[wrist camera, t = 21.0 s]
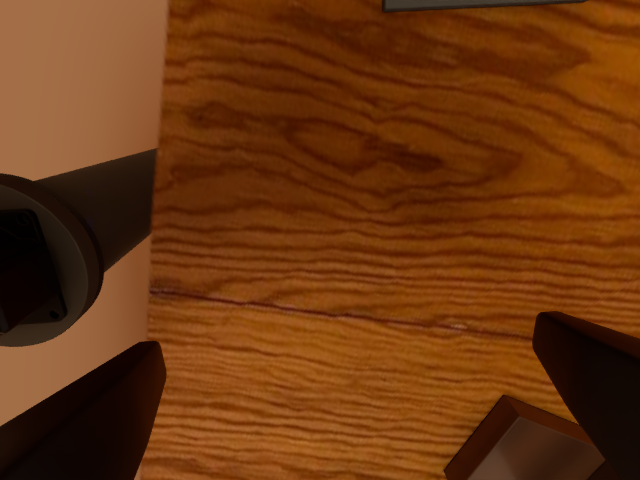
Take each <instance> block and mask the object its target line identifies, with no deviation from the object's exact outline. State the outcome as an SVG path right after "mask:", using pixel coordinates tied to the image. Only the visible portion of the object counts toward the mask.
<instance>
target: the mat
mask: <svg viewBox="0 0 640 480" xmlns="http://www.w3.org/2000/svg"><path fill="white" fill-rule="evenodd" d="M585 1H588V0H383V12H394V11H414V10H435V9H455V8H476V7H497V6H517V5H538V4H558V3H579V2H585Z"/></svg>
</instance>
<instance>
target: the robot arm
mask: <svg viewBox="0 0 640 480" xmlns="http://www.w3.org/2000/svg"><path fill="white" fill-rule="evenodd" d="M23 215H24V216H25V217H27V219H28V222H26V221H25V220H24V219H23ZM54 311H57V312H58V313H59V315H58V314H56V313H55V312H54ZM67 314H68V310H67V307H66V304H65V300H64V297H63V294H62V291H61V286H60V282H59V279H58V276H57V273H56V270H55V267H54V264H53V261H52V257H51V254H50V251H49V249H48V247H47V244H46V241H45V238H44V235H43V232H42V229H41V225H40V222H39V219H38V216H37V215H36V213H35V212H34V211H33V210H30V209H26V208H22V209H6V210H0V336H1V335H3V334H6V333H8V332H9V331H11V330H12V329H13V328H15V327H16V326H17V325H26V324H39V323H53V322H60V321H61V320H62V319H64V318H65V317H66V316H67ZM532 345H533V349H534V352H535V354H536V355H537V357H538V359H539V361H540V362H541V364H542V366H543V367H544V369H545V371H546V372H547V374H548V376H549V377H550V379H551V381H552V382H553V384H554V386H555V388H556V389H557V391H558V393H559V394H560V396H561V398H562V399H563V401H564V402H565V404H566V406H567V407H568V409H569V410H570V412H571V413H572V415H573V416H574V417H575V419H576V420H577V422H578V423H579V424H580V426H581V427H582V429H583V430H584V431H585V433H586V434H587V435H588V437H589V438H590V440H591V441H592V442H593V444H594V445H595V446H596V448H597V449H598V451H599V452H600V453H601V455H602V456H603V457H604V459H605V460H606V462H607V463H608V464H609V466H610V467H611V468H612V470H613V471H614V473H615V474H616V475H617V477H618V478H619V479H620V480H640V339H639V338H636V337H633V336H630V335H627V334H624V333H621V332H618V331H615V330H612V329H609V328H606V327H603V326H600V325H597V324H594V323H591V322H588V321H585V320H582V319H579V318H576V317H573V316H570V315H567V314H564V313H561V312H558V311H550V312H541V313H539V314H538V315H537V317H536V322H535V328H534V334H533V340H532ZM165 381H166V367H165V363H164V359H163V354H162V350H161V346H160V344H159V342H157V341H144V342H139V343H137V344H135V345H133V346H132V347H130V348H129V349H127V350H125V351H124V352H122V353H120V354H119V355H117V356H115V357H114V358H112V359H111V360H109V361H107V362H106V363H104V364H102V365H101V366H99V367H97V368H96V369H94V370H92V371H91V372H89V373H87V374H86V375H84V376H83V377H81V378H79V379H78V380H76V381H74V382H73V383H71V384H69V385H68V386H66V387H64V388H63V389H61V390H60V391H58V392H56V393H55V394H53V395H51V396H50V397H48V398H46V399H45V400H43V401H41V402H40V403H38V404H37V405H35V406H33V407H31V408H30V409H28V410H27V411H25V412H24V413H22V414H20V415H18V416H17V417H15V418H13V419H12V420H10V421H8V422H7V423H5V424H3V425H2V426H0V480H134V478H135V475H136V473H137V470H138V468H139V465H140V463H141V460H142V458H143V455H144V453H145V450H146V447H147V444H148V442H149V438H150V435H151V432H152V428H153V424H154V421H155V417H156V414H157V410H158V406H159V403H160V399H161V396H162V392H163V388H164V385H165Z"/></svg>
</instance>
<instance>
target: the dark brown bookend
mask: <svg viewBox="0 0 640 480" xmlns="http://www.w3.org/2000/svg"><path fill="white" fill-rule="evenodd" d="M444 473H445V475H446V478H447V480H620V479H619V478H618V477H617V475H616V474H615V473H614V471H613V470H612V468H611V467H610V466H609V464H608V463H607V462H606V460H605V459H604V457H603V456H602V455H601V453H600V452H599V451H598V449H597V448H596V446H595V445H594V444H593V442H592V441H591V440H590V438H589V437H588V435H587V434H586V433H585V431H584V430H583V429H582V427H581V426H579V425H577V424H574V423H572V422H569V421H567V420H564V419H562V418H560V417H557V416H555V415H552V414H550V413H547V412H545V411H542V410H540V409H537V408H535V407H532V406H530V405H528V404H525V403H523V402H520V401H518V400H515V399H513V398H510V397H508V396H505V395H504V396H503V397H502V398H501V400H500V401H499V402H498V403H497V405H496V406H495V407H494V408H493V410H492V411H491V412H490V413H489V415H488V416H487V417H486V419H485V420H484V421H483V422H482V424H481V425H480V426H479V427H478V429H477V430H476V431H475V432H474V434H473V435H472V436H471V438H470V439H469V440H468V441H467V443H466V444H465V445H464V446H463V448H462V449H461V450H460V451H459V453H458V454H457V455H456V457H455V458H454V459H453V460H452V462H451V463H450V464H449V465H448V467H447V468H446V469H445V470H444Z"/></svg>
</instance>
